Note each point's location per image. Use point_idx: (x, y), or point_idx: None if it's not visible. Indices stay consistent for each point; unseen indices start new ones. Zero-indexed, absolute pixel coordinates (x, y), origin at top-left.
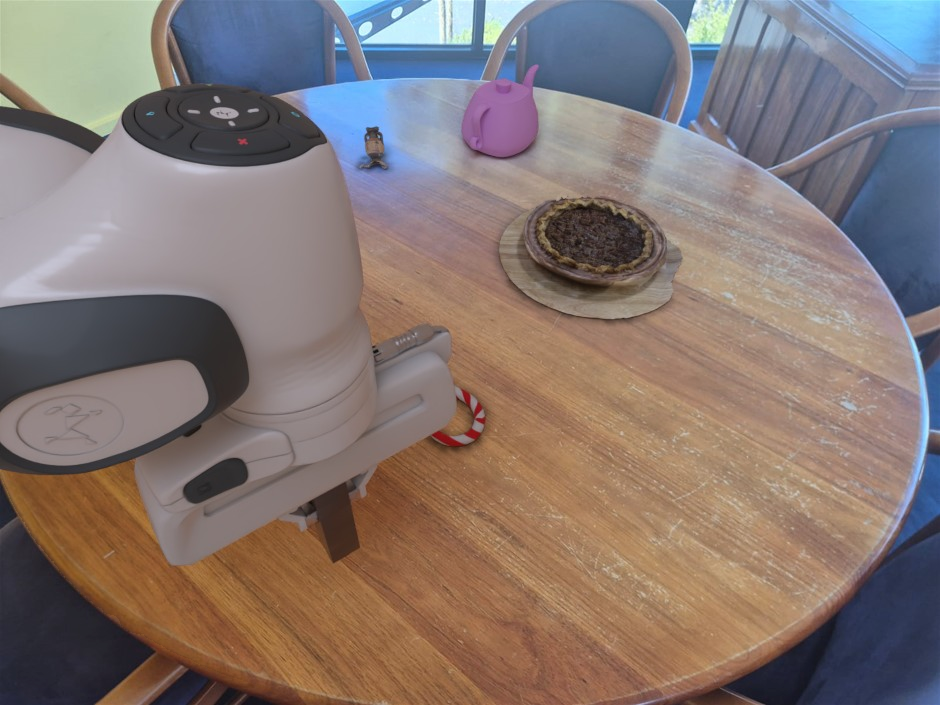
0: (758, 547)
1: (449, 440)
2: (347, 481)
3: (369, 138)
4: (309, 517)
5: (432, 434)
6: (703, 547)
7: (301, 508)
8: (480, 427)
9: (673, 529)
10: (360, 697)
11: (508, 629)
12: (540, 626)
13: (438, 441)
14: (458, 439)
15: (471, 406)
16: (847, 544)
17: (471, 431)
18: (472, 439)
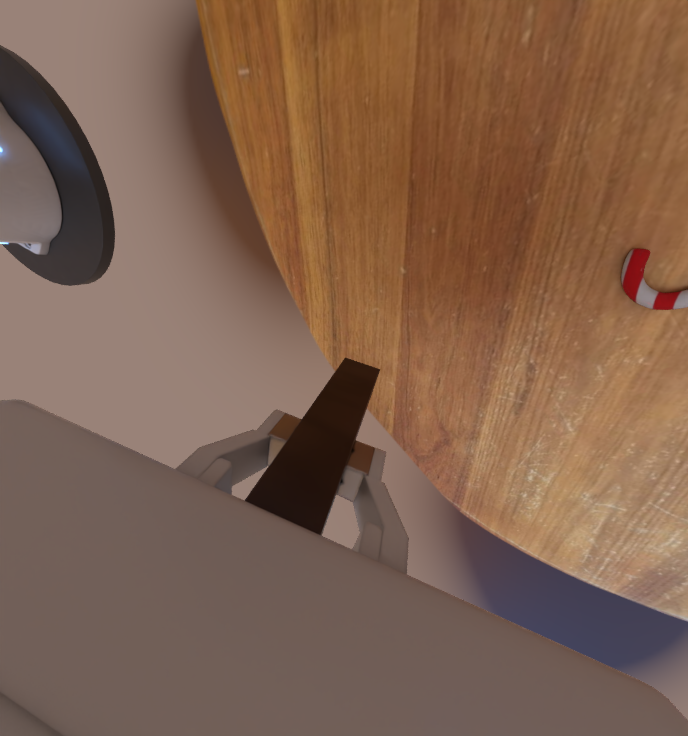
0: (621, 554)
1: (632, 285)
2: (351, 485)
3: None
4: None
5: (634, 255)
6: (598, 524)
7: (269, 451)
8: (685, 306)
9: (608, 506)
10: None
11: (439, 431)
12: (455, 447)
13: (623, 269)
14: (640, 295)
15: None
16: (659, 599)
17: (669, 301)
18: (651, 308)
